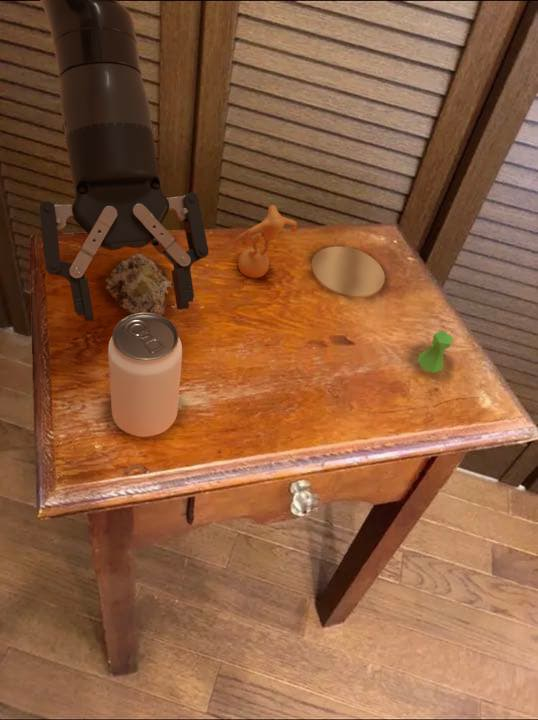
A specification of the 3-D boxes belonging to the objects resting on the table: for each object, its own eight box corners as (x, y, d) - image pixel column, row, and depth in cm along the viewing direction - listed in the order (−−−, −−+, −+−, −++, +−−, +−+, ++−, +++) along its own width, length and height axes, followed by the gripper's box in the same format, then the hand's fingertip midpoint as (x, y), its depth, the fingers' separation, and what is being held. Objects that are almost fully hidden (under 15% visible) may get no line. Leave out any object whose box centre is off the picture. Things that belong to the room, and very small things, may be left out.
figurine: (272, 260, 79) (289, 182, 71) (293, 289, 76) (313, 211, 67) (216, 271, 76) (226, 191, 67) (235, 302, 73) (248, 222, 64)
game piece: (413, 381, 69) (432, 346, 65) (406, 353, 72) (423, 319, 67) (447, 383, 70) (469, 349, 65) (439, 356, 72) (459, 322, 68)
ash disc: (307, 296, 76) (310, 287, 75) (310, 249, 82) (313, 240, 81) (383, 310, 76) (386, 301, 75) (379, 262, 83) (383, 253, 82)
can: (151, 381, 63) (153, 298, 54) (190, 420, 60) (198, 341, 51) (99, 411, 59) (91, 328, 50) (137, 454, 57) (137, 375, 48)
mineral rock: (93, 256, 71) (157, 237, 71) (105, 281, 74) (166, 262, 75) (109, 321, 65) (179, 299, 66) (121, 345, 68) (187, 323, 69)
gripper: (21, 120, 46) (56, 326, 48) (197, 116, 51) (223, 304, 53) (24, 147, 53) (55, 325, 55) (179, 141, 58) (202, 306, 60)
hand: (137, 315), depth 54 cm, fingers open, 8 cm apart
